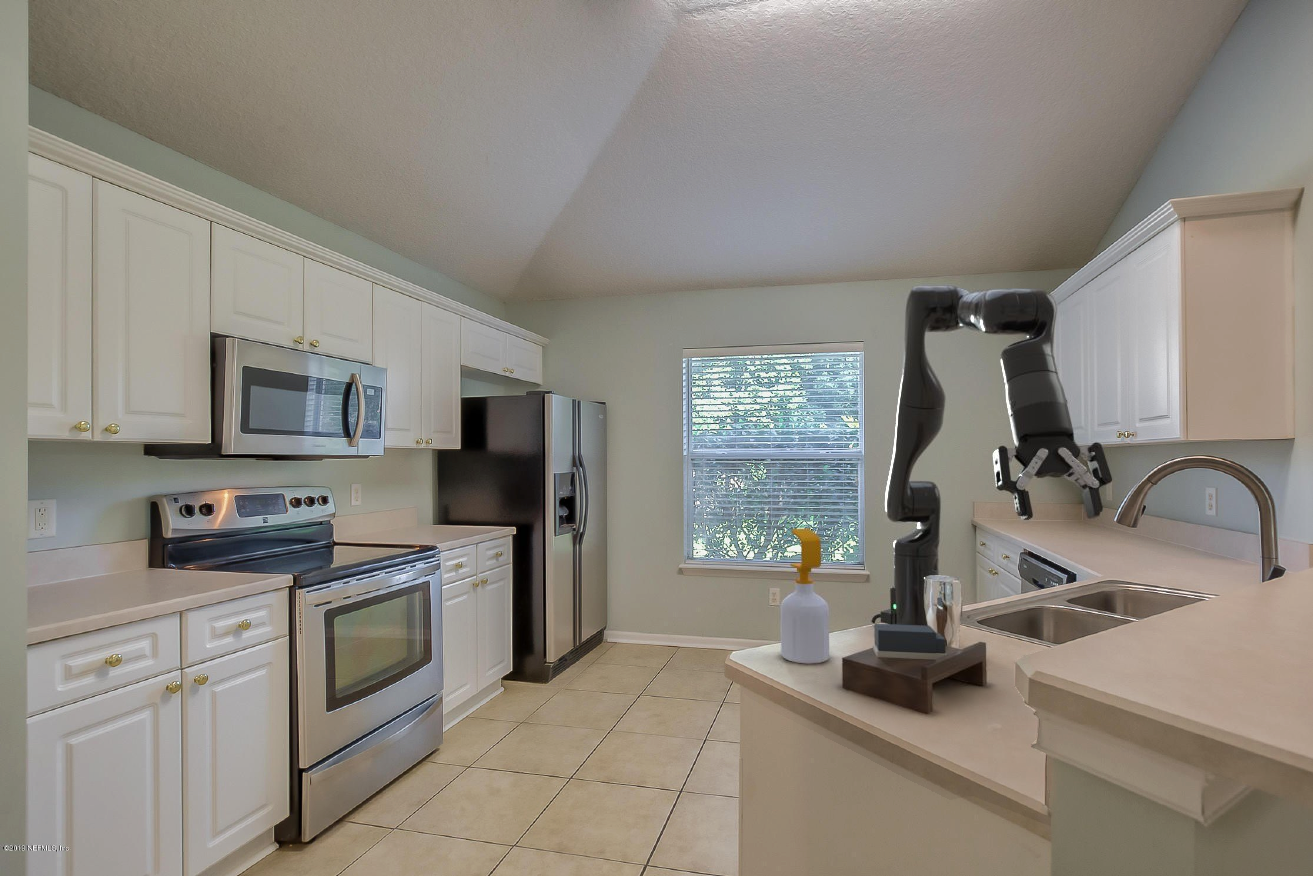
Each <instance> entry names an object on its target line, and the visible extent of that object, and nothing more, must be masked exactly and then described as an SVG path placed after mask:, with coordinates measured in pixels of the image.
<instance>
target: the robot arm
mask: <svg viewBox="0 0 1313 876" xmlns="http://www.w3.org/2000/svg"><path fill="white" fill-rule="evenodd" d="M904 313H905V314H904V337H903V338H904V339H903V358H902V359H903V360H902V361H903V362H902V370H901V371H902V372H901V380H900V386H899V393H898V394H899V395H898V400H897V410H896V419H895V420H896V421H895V423H896V424H895V434H894V443H893V452H892V458H891V464H890V468H889V474H888V479H887V484H886V489H885V496H884V497H885V498H884V499H885V500H884V507H885V508H884V509H885V514H886V517H887V518H888V520H889V521H890V522H892V523H896V524H897V523H899V524H900V523H901V524H917V526H916V527H915V529H914V530H913V531H911V532H910V533H909V534H906V535H904V536H901V537H899V538H896V539H895V540H894V541H893V586H891V587H890V589H889V595H890V596H889V599H890V600H889V601H890V602H889V604H890V607H889V608H888V609H884V610H881V611H880V613H877V614H875V615H873V616H872V618H871V623H872V624H873V625H874V624H876V621H877V619H880V624H893V625H920V626H928V625H927V620H926V615H925V609H924V579H925V578H924V577H925V576H930V575H940V564H939V562H940V561H939V558H940V557H939V547H940V541H941V515H942V514H941V512H942V501H941V493H940V489H939V487H938V485H937V484H936V483H935V482H934V481H931V480H910V479H911V476H912V472H913V470H914V467H915V465H916V464H917V462H918V460H919V459H920V457H921V456H922V455H923V454H924V452H925V451H927V449H928V448H929V446H930V445H931V444H932V443H933V442H934V440H935V439H936V438H937V436H938V435H939V434H940V432H941V430H942V427H943V423H944V416H945V411H946V409H945V408H946V403H947V402H946V400H947V399H946V393H945V389H944V387H943V386H942V383H941V381H940V379H939V377H938V376H937V374H936V372H935V371H934V369H933V367H932V365H931V363H930V360H929V357H928V355H927V350H926V349H927V348H926V333H950V332H954V331H958V330H963V329H967V330H969V331H973V332H982V333H983V334H986V335H991V336H1015V335H1017V336H1022V335H1024V336H1025V337H1026V339H1023V340H1019V341H1017V342H1014V343H1011V344H1009V345H1008V346H1006V347H1005V348H1004V349H1002V350H1001V353H1000V366H1001V371H1002V372H1001V373H1002V377H1003V383H1004V386H1005V387H1004V388H1005V400H1006V407H1007V408H1006V409H1007V413H1008V417H1009V423H1010V427H1011V428H1010V429H1011V433H1012V439H1013V441H1014V448H1011V447H1010V448H1008V447H1006V446H1005V445H999V446H998V448H996V449H995V450H994V452H992V462H993V470H994V478H995V487H996V489H997V490H998V491H1001V492H1003V491H1005V492H1009V494H1011V495H1012V498H1013V503H1014V507H1015V513H1016V515H1017V516H1018V517H1020V518H1021V520H1022V521H1029V520H1031V519H1032V518H1033V517H1034V513H1033V508H1032V507H1033V506H1032V502H1031V498H1030V493H1029V490H1026V488H1027V486H1028V484H1029V483H1030V482H1031V480H1032V479H1033V477H1035V478H1036V479H1044V478H1049V477H1050V478H1055V479H1056V478H1061V477H1064V478H1065V479H1066V480H1067V481H1069V482H1070V483H1072V484H1074V485H1075V486H1077V487H1078V488H1079V489H1080V490H1081V491H1082V492H1081V496H1082V501H1083V506H1084V510H1085V515H1086V518H1087V519H1096V518H1098V517H1100V515H1101V513H1102V512H1103V509H1104V506H1103V503H1102V498H1101V495H1100V489H1102V488H1104V487H1105V486H1108V485H1109V484H1110V483H1112V481H1113V477H1112V473H1111V470H1110V466H1109V464H1108V461H1107V458H1106V454H1105V451H1104V448H1103V445H1102V443H1100V442H1098V441H1095V442H1093V443H1092V444H1090V445H1078V443H1077V441H1076V439H1075V433H1074V428H1073V423H1072V419H1071V414H1070V410H1069V407H1068V399H1067V397H1066V392H1065V390H1064V387H1063V384H1062V382H1061V379H1060V376H1059V372H1058V368H1057V364H1056V358H1055V354H1054V346H1055V345H1054V343H1055V341H1054V340H1055V330H1056V321H1057V314H1058V305H1057V302H1056V300H1055V298H1054V296H1053V295H1052V294H1051V293H1050V292H1049V291H1047V290H1046V289H1043V288H996V289H995V288H994V289H979V290H973V291H970V290H967V289H965V288H963V287H958V286H956V285H917V286H914V287H912V288H911V289H910V291H909V294H908V296H907V299H906V304H905V312H904ZM1079 456H1081V457H1082V458H1083V461H1085V462H1087V465H1088V468H1089V471H1090V472H1089V471H1088V469H1087V467H1085V466H1084V465H1083V463H1081V462H1080V461H1079V460H1078V458H1079ZM1013 458H1014V459H1015V460H1016V461H1017V462H1018V463H1019V464H1020V465H1021V466H1022V469H1021V470H1020V472H1019V473H1018V474H1017V476H1016V479H1015V480H1012V476H1011V468H1010V467H1011V466H1010V463H1011V462H1012V461H1013Z"/></svg>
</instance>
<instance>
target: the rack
mask: <svg viewBox="0 0 1313 876" xmlns="http://www.w3.org/2000/svg"><path fill="white" fill-rule="evenodd" d="M945 652H946V654H947V655H946V656H944V657H941V658H939V659H936V660H930V659H908V658H886V657H877V655H876V653H875V651H874V649H873V647H870V648H867V649H864V650H860V651H858V652H854V653H852V654H849V655H847V656H843V657H841V670H842V671H841V677H842V678H841V681H842V682H841V683H842V685H841V686H842V688H843V689H845V690H848V691H852V692H855V693H857V694H858V693H859V694H862V695H864V696H869V697H871V698H874V699H878V700H881V701H884V702H888V703H890V704H894V705H897V706H901V707H904V708H907V709H910V710H913V711H916V712H920V713H923V714H926V715H929V714H930V713H932V712H933V711H934V709H933V704H934V703H933V684H934V683H937V682H939V681H941V680H943V679H946V678H950V679H953V680H957V681H961V682H965V683H970V684H973V685H977V686H981V687H984V686H986V685H987V684H988V678H987V677H988V675H987V674H988V673H987V671H988V670H987V667H988V666H987V643H986V642H984V641H978V642H976V643H973V644H971V645H968V646H965V647H963V648H960V649H958V648H954V647H949V646H945Z"/></svg>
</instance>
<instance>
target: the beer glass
mask: <svg viewBox="0 0 1313 876" xmlns="http://www.w3.org/2000/svg"><path fill="white" fill-rule="evenodd" d="M924 578H925V579H924V609H925V615H926V620H927V625H928V626H930V627H931V628H932V629H933V630H934V631H935V632H936V633H940V634H941V635H942V636H943V637H944V639H945V646H949V647H954V648H958V649H961V648H960V643H959V633H960V627H961V621H962V615H963V604H964V603H963V601H964V600H963V588H962V579H961V578H960V577H956V576H952V575H943V574H942V575H940V574H939V575H930V576H925V577H924Z"/></svg>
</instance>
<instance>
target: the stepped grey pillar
mask: <svg viewBox="0 0 1313 876" xmlns="http://www.w3.org/2000/svg"><path fill="white" fill-rule="evenodd" d="M873 626H874V628H873V629H874V635H873V636H874V643H873V646H872V648H873V649H874V651H875V653H876V655H877V657H886V658H908V659H930V660H936V659H939V658H941V657H944V656H946V655H947V654H946V652H945V639H944V637H943V636H942V635H941V634H940V633H936V632H935V631H934V630H933V629H932V628H931V627H930V626H920V625H893V624H886V623H875V624H874V623H873Z"/></svg>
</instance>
